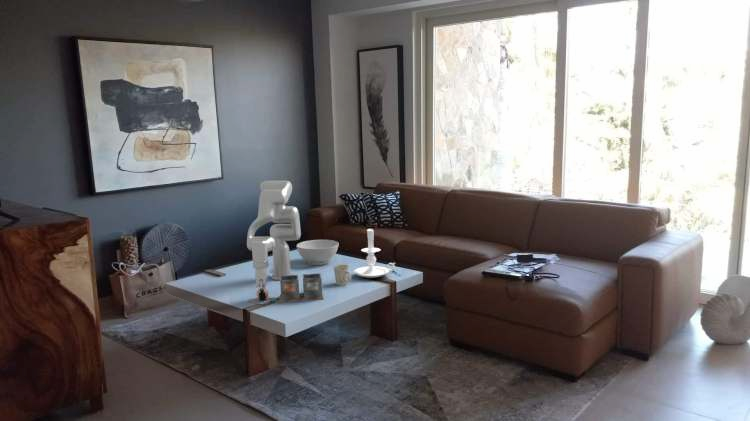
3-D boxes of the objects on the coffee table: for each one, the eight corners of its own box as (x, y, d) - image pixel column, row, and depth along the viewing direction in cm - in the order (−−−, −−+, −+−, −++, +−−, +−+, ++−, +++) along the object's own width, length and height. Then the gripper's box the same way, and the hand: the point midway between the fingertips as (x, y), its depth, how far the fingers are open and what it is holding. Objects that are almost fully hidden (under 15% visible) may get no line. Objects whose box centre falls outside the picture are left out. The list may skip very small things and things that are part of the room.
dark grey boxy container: (280, 302, 299) (278, 281, 298) (280, 295, 310) (279, 275, 308) (323, 299, 303) (322, 278, 301) (322, 292, 313) (321, 272, 311)
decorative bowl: (347, 260, 381) (346, 241, 379) (322, 270, 359) (321, 250, 357) (314, 255, 395) (313, 238, 393) (288, 265, 373) (287, 246, 371)
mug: (342, 280, 335) (341, 263, 333) (357, 284, 326) (356, 267, 325) (331, 283, 329) (330, 266, 328) (346, 288, 320) (345, 270, 319)
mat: (247, 301, 302) (247, 300, 302) (263, 295, 311) (263, 295, 311) (262, 305, 296) (262, 304, 296) (278, 299, 305) (278, 298, 305)
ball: (254, 299, 303) (253, 288, 302) (263, 296, 308) (262, 285, 307) (262, 301, 299) (261, 290, 298) (271, 298, 304) (270, 287, 303)
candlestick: (390, 282, 329) (389, 233, 324) (348, 280, 336) (347, 231, 332) (400, 272, 348) (399, 226, 344) (360, 270, 356) (358, 224, 351)
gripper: (253, 260, 308) (256, 293, 311) (252, 268, 291) (254, 304, 295) (268, 259, 309) (270, 292, 312) (267, 267, 293) (269, 302, 296)
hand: (262, 297), depth 303 cm, fingers closed on ball, 5 cm apart
